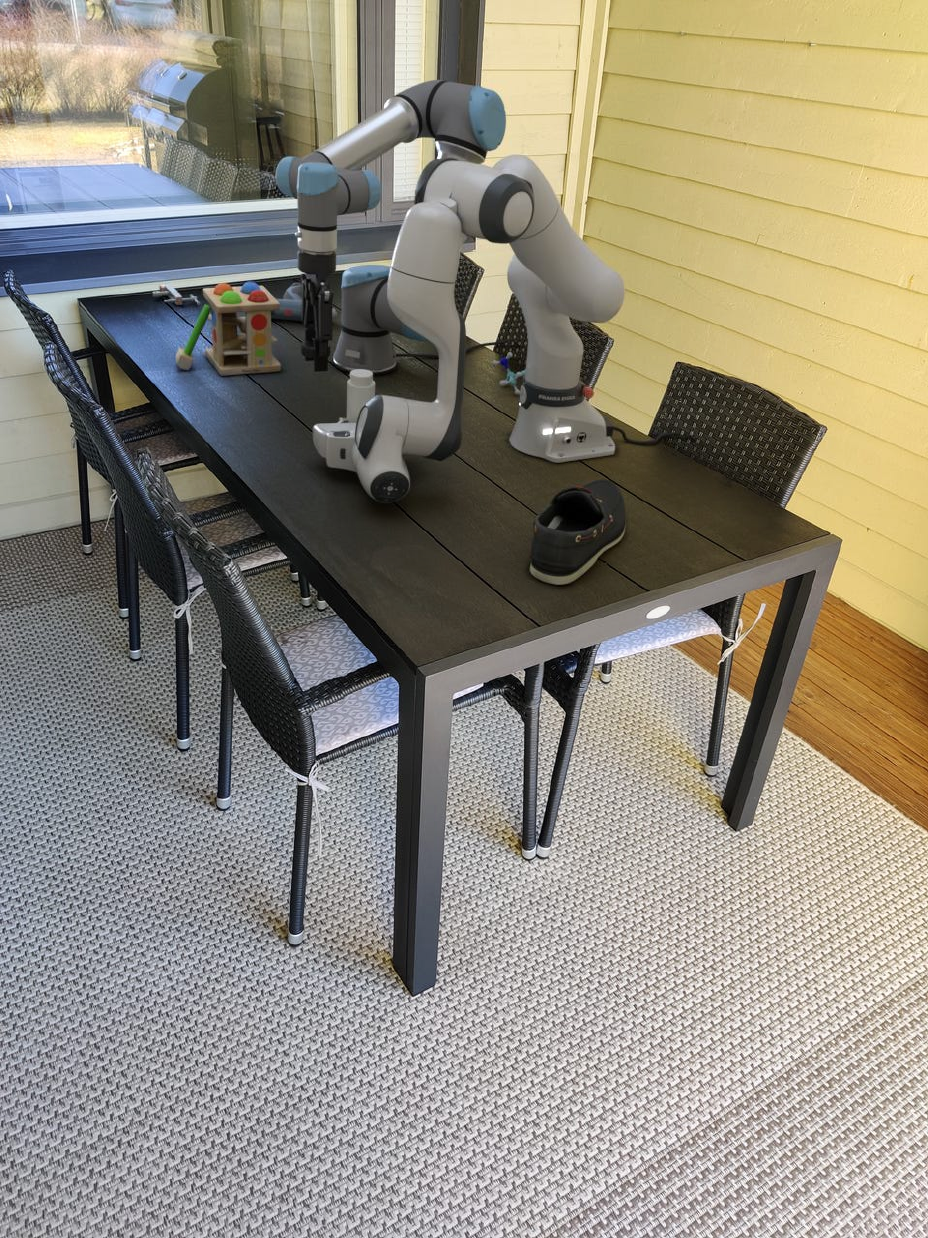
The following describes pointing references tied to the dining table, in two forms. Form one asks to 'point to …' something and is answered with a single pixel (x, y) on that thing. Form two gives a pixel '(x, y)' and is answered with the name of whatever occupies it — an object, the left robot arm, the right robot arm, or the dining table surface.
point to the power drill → (292, 304)
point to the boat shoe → (576, 531)
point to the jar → (359, 392)
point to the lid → (310, 349)
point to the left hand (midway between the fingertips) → (316, 365)
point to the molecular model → (509, 373)
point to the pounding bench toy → (229, 347)
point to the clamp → (173, 295)
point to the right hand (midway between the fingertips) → (359, 420)
